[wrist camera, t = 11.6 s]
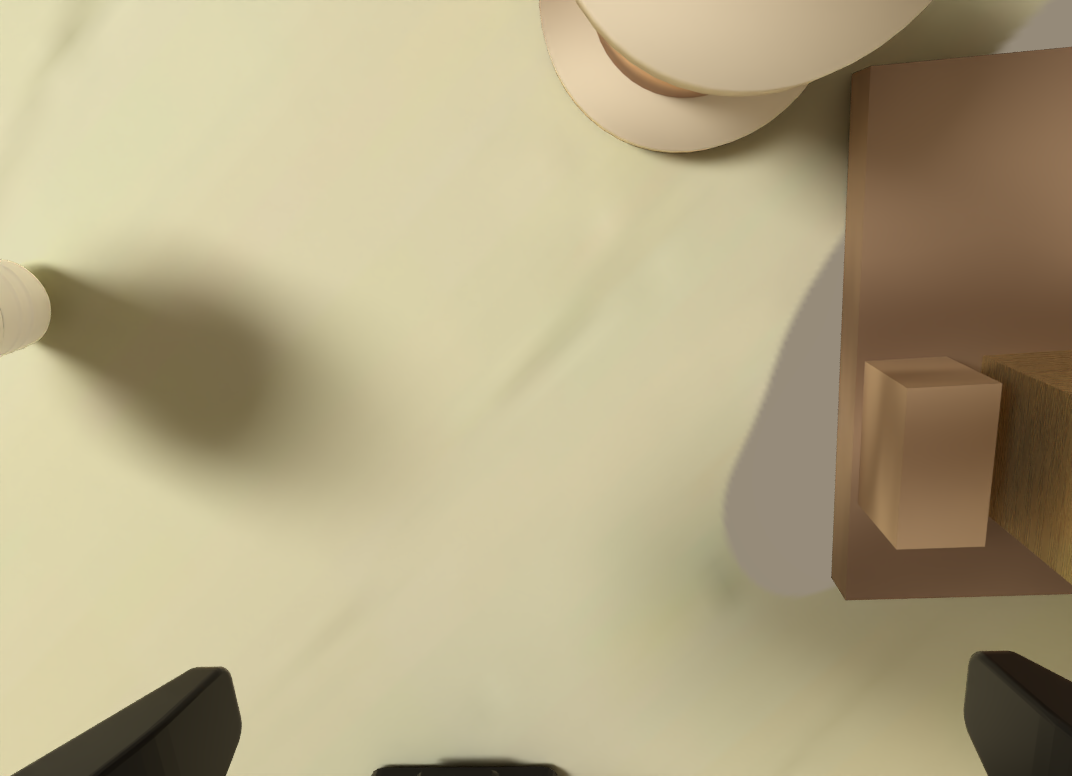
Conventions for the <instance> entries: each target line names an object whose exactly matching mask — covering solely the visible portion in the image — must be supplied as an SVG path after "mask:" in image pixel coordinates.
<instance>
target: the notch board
mask: <svg viewBox="0 0 1072 776" xmlns="http://www.w3.org/2000/svg"><path fill="white" fill-rule="evenodd" d="M843 282H844V283H843V305H842V331H841V355H840V378H839V404H838V429H837V452H836V479H835V502H834V527H833V551H832V576H831V578H832V579H833V581H834V582H835V584H836V586H837V587H838V589H839V591H840V592H841V594H842V595H843V597H844V599H845V600H872V599H908V598H944V597H980V596H1016V595H1051V594H1072V585H1071V584H1070V583H1069V582H1068V581H1066V580H1065V579H1064V578H1063V577H1062V576H1060V575H1059V574H1058V573H1057V572H1055V571H1054V570H1053V569H1052V568H1051V567H1049V566H1048V565H1047V564H1046V563H1045V562H1043V561H1042V560H1041V559H1040V558H1039V557H1037V556H1036V555H1035V554H1034V553H1033V552H1031V551H1030V550H1029V549H1028V548H1027V547H1025V546H1024V545H1023V544H1022V543H1021V542H1019V541H1018V540H1017V539H1016V538H1014V537H1013V536H1012V535H1011V534H1010V533H1008V532H1007V531H1006V530H1005V529H1004V528H1002V527H1001V526H1000V525H999V524H998V523H996V522H995V521H994V520H993V519H992V518H990V517H989V516H988V513H989V504H990V494H991V485H992V476H993V466H994V457H995V448H996V438H997V429H998V420H999V410H1000V401H1001V391H1002V383H1001V382H999V381H997V380H994V379H992V378H990V377H988V376H986V375H984V374H982V373H981V367H982V356H988V355H1003V354H1018V353H1033V352H1049V351H1064V350H1072V47H1066V48H1055V49H1044V50H1034V51H1023V52H1013V53H1002V54H992V55H981V56H971V57H961V58H950V59H940V60H929V61H919V62H908V63H898V64H887V65H877V66H870V67H867V68H865V69H863V70H860V71H858V72H855V73H853V74H852V82H851V106H850V131H849V156H848V181H847V205H846V230H845V256H844V279H843Z"/></svg>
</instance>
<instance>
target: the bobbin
mask: <svg viewBox="0 0 1072 776" xmlns="http://www.w3.org/2000/svg"><path fill="white" fill-rule="evenodd" d="M931 1H932V0H539V8H540V16H541V23H542V29H543V33H544V37H545V41H546V45H547V49H548V52H549V55H550V58H551V61H552V63H553V66H554V68H555V71H556V73H557V75H558V77H559V79H560V81H561V83H562V85H563V86H564V88H565V90H566V92H567V93H568V94H569V96H570V97H571V98H572V100H573V101H574V103H575V104H576V105H577V106H578V107H579V109H580V110H581V111H582V112H583V113H584V114H585V115H586V116H587V117H588V118H589V119H590V120H591V121H593V122H594V123H595V124H596V125H598V126H599V127H600V128H601V129H603V130H604V131H606V132H607V133H609V134H611V135H613V136H614V137H616V138H618V139H619V140H622V141H624V142H627V143H629V144H631V145H634V146H637V147H641V148H644V149H648V150H652V151H660V152H668V153H682V152H694V151H700V150H706V149H710V148H713V147H717V146H720V145H724V144H727V143H730V142H733V141H735V140H738V139H740V138H742V137H744V136H747V135H749V134H751V133H753V132H754V131H756V130H758V129H759V128H761V127H763V126H764V125H766V124H768V123H769V122H770V121H771V120H773V119H774V118H775V117H777V116H778V115H779V114H780V113H782V112H783V111H784V110H785V109H786V108H787V107H788V106H789V105H790V104H791V103H792V102H793V101H794V100H795V99H796V98H797V97H798V96H799V95H800V94H801V93H802V92H803V90H804V89H805V88H806V87H807V85H808V84H809V83H810V82H813V81H815V80H817V79H819V78H822V77H824V76H826V75H828V74H831V73H833V72H835V71H837V70H839V69H842V68H844V67H846V66H848V65H850V64H852V63H854V62H856V61H857V60H859V59H861V58H862V57H864V56H866V55H867V54H869V53H871V52H872V51H874V50H876V49H877V48H879V47H880V46H882V45H883V44H884V43H886V42H887V41H888V40H890V39H891V38H892V37H893V36H895V35H896V34H897V33H899V32H900V31H901V30H902V29H904V28H905V27H906V26H907V25H908V24H909V23H910V22H911V21H912V20H913V19H914V18H915V17H916V16H917V15H918V14H919V13H920V12H922V11H923V10H924V9H925V8H926V7H927V6H928V5H929V4H930V2H931Z"/></svg>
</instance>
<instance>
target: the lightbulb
mask: <svg viewBox="0 0 1072 776" xmlns="http://www.w3.org/2000/svg"><path fill="white" fill-rule="evenodd" d="M50 318H51V304H50V300H49V297H48V294H47V292H46V290H45V288H44V287H43V285H42V284H41V282H40V281H39V280H38V279H37V278H36V277H35V276H34V275H33V274H32V273H31V272H30V271H28V270H27V269H26V268H25V267H23V266H21V265H19V264H17V263H15V262H12V261H8V260H2V259H0V357H1V356H3V355H6V354H9V353H12V352H14V351H17V350H20V349H23V348H25V347H27V346H29V345H32V344H33V343H35V342H37V341H38V340H39V339H41V338H42V337H43V336H44V334H45V332H46V331H47V329H48V326H49V323H50Z"/></svg>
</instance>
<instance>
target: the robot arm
mask: <svg viewBox="0 0 1072 776" xmlns="http://www.w3.org/2000/svg"><path fill="white" fill-rule="evenodd" d="M964 719H965V724H966V728H967V731H968V733H969V736H970V738H971V740H972V742H973V744H974V747H975V749H976V751H977V753H978V755H979V757H980V760H981V762H982V764H983V766H984V768H985V770H986V773H987V775H988V776H1072V682H1071V681H1069V680H1067V679H1065V678H1063V677H1061V676H1059V675H1057V674H1055V673H1054V672H1052V671H1050V670H1048V669H1046V668H1044V667H1042V666H1040V665H1038V664H1036V663H1034V662H1032V661H1030V660H1029V659H1027V658H1025V657H1023V656H1021V655H1019V654H1017V653H1015V652H1011V651H979V652H976V653H974V654H973V655H972V656H971V658H970V661H969V665H968V674H967V684H966V693H965V702H964ZM241 728H242V722H241V715H240V711H239V707H238V703H237V698H236V694H235V690H234V686H233V681H232V677H231V675H230V673H229V671H228V670H227V669H226V668H224V667H196V668H192V669H190V670H188V671H186V672H185V673H183V674H181V675H180V676H178V677H176V678H175V679H173V680H171V681H170V682H168V683H166V684H165V685H163V686H161V687H159V688H158V689H156V690H154V691H153V692H151V693H149V694H148V695H146V696H144V697H143V698H141V699H139V700H138V701H136V702H134V703H132V704H131V705H129V706H127V707H126V708H124V709H122V710H121V711H119V712H117V713H116V714H114V715H112V716H111V717H109V718H107V719H106V720H104V721H102V722H100V723H99V724H97V725H95V726H94V727H92V728H90V729H89V730H87V731H85V732H84V733H82V734H80V735H79V736H77V737H75V738H73V739H72V740H70V741H68V742H67V743H65V744H63V745H62V746H60V747H58V748H57V749H55V750H53V751H52V752H50V753H48V754H46V755H45V756H43V757H41V758H40V759H38V760H36V761H35V762H33V763H31V764H30V765H28V766H26V767H25V768H23V769H21V770H19V771H18V772H16V773H14V774H13V775H11V776H226V774H227V771H228V769H229V766H230V763H231V761H232V758H233V756H234V753H235V750H236V748H237V745H238V742H239V739H240V735H241ZM371 776H557V774H556V773H555V772H554V771H553V770H552V769H550V768H547V767H435V768H380V769H377V770H375V771H374V772H373V774H372V775H371Z"/></svg>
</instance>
